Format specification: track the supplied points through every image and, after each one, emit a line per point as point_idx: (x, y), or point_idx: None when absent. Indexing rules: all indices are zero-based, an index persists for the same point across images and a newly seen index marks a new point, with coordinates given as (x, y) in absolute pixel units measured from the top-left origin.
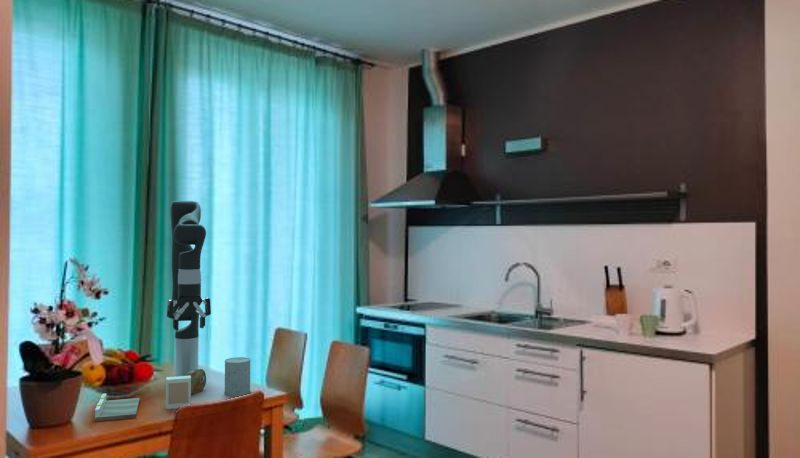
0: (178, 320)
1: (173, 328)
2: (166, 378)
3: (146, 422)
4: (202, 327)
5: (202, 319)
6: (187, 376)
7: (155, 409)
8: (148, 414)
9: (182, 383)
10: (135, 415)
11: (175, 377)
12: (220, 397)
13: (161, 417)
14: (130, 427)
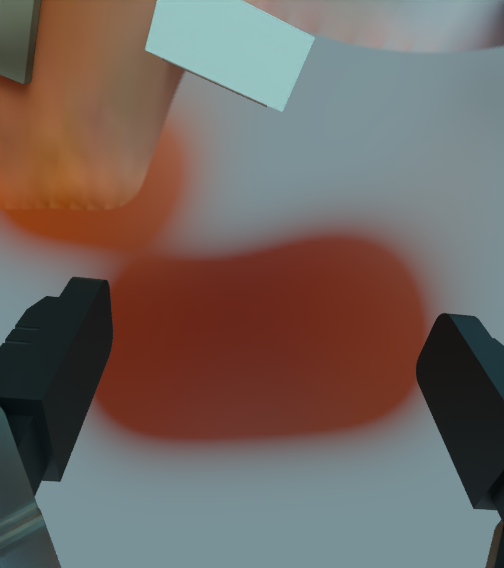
0: (64, 469)
1: (45, 307)
2: (156, 7)
3: (64, 175)
4: (427, 380)
5: (473, 480)
6: (286, 51)
7: (129, 5)
8: (86, 70)
9: (236, 92)
10: (25, 81)
11: (214, 22)
12: (457, 22)
13: (125, 152)
14: (6, 193)
